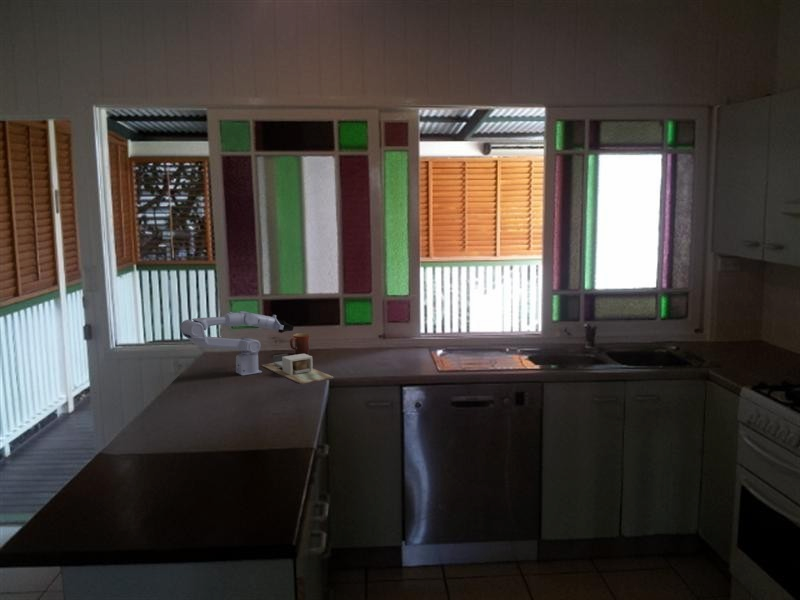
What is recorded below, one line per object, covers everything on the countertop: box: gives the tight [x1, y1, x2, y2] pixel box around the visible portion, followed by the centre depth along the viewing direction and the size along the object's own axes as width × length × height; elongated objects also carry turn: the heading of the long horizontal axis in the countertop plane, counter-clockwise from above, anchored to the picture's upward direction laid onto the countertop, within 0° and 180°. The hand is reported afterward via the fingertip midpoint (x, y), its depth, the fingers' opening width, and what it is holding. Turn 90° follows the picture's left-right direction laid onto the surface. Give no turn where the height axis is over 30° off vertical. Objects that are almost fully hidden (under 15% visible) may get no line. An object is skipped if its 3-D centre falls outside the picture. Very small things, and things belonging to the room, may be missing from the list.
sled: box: [272, 353, 310, 374], centre depth 287 cm, size 7×23×4 cm, turn 36°
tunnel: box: [282, 354, 314, 375], centre depth 282 cm, size 11×8×7 cm
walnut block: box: [292, 360, 307, 371], centre depth 281 cm, size 5×5×4 cm
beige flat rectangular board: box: [261, 362, 334, 385], centre depth 284 cm, size 16×39×1 cm, turn 36°
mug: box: [289, 332, 311, 355], centre depth 316 cm, size 12×9×10 cm
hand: (288, 326), depth 294 cm, fingers open, 7 cm apart
